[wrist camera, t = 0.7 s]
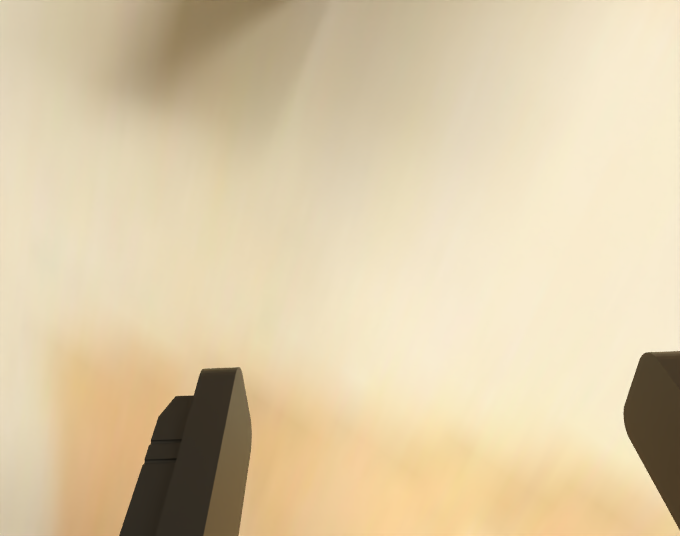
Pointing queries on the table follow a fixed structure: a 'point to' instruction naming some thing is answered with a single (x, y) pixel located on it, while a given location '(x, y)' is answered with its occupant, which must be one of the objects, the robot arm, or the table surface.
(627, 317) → the table surface
